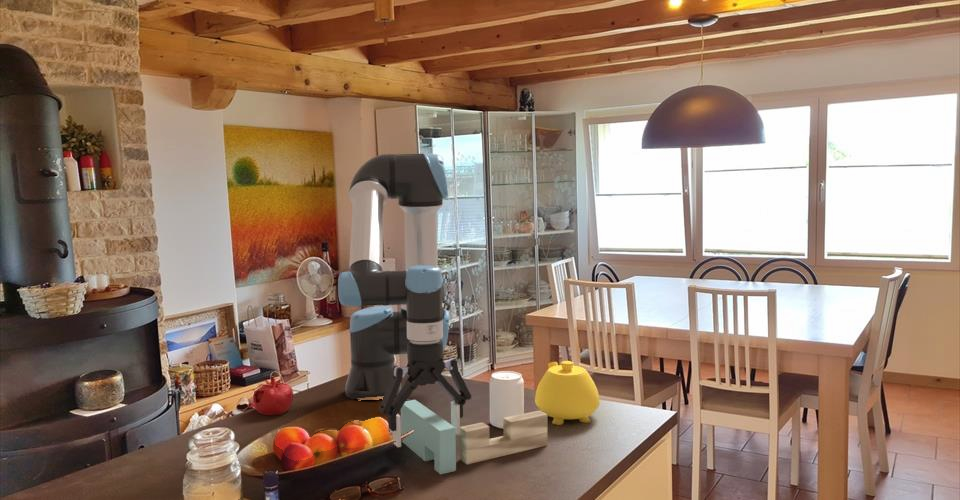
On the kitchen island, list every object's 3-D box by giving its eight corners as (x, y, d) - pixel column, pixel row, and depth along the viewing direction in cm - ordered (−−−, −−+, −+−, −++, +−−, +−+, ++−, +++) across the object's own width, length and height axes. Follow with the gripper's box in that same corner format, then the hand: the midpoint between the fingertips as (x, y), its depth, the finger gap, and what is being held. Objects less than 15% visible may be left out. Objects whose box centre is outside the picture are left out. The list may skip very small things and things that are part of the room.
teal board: (401, 441, 155) (400, 402, 154) (415, 438, 157) (414, 399, 156) (440, 474, 138) (439, 430, 137) (455, 470, 140) (455, 427, 139)
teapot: (523, 403, 180) (523, 351, 179) (580, 398, 183) (581, 347, 182) (545, 430, 161) (545, 373, 159) (609, 425, 164) (609, 368, 162)
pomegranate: (296, 404, 181) (295, 369, 181) (290, 417, 172) (290, 380, 171) (257, 405, 180) (256, 370, 179) (249, 418, 170) (248, 381, 170)
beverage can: (521, 431, 160) (521, 381, 159) (486, 429, 162) (486, 379, 161) (526, 419, 168) (525, 371, 167) (493, 417, 170) (492, 369, 168)
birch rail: (460, 459, 145) (459, 427, 144) (539, 440, 155) (539, 410, 154) (466, 464, 142) (466, 431, 142) (547, 445, 152) (547, 414, 151)
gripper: (374, 351, 135) (377, 456, 137) (486, 336, 147) (487, 433, 149) (361, 343, 142) (364, 444, 144) (469, 330, 154) (470, 422, 156)
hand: (426, 438), depth 147 cm, fingers open, 13 cm apart
